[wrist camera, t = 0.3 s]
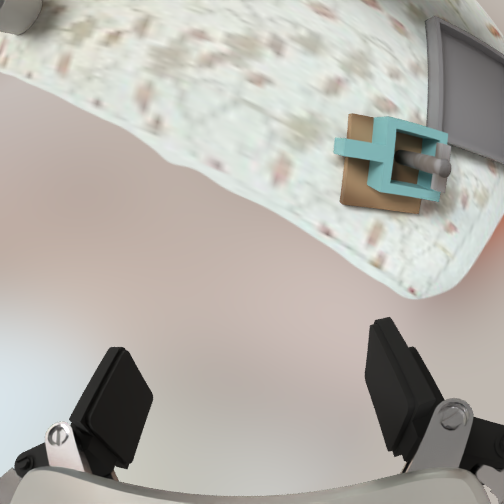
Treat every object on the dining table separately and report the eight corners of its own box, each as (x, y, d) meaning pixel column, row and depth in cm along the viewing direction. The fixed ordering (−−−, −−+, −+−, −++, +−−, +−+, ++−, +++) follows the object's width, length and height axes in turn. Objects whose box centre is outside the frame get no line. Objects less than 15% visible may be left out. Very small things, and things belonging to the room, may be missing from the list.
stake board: (348, 114, 32) (386, 107, 21) (424, 131, 32) (477, 137, 21) (339, 201, 37) (370, 231, 26) (413, 211, 37) (459, 240, 26)
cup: (29, 34, 25) (-7, 26, 16) (7, 36, 24) (-27, 31, 15) (48, -6, 22) (16, -19, 13) (24, -1, 21) (-7, -11, 12)
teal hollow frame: (336, 110, 31) (347, 107, 27) (430, 132, 31) (448, 133, 27) (330, 180, 34) (340, 186, 30) (422, 193, 34) (438, 201, 30)
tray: (425, 21, 25) (434, 15, 22) (507, 65, 25) (517, 64, 22) (425, 137, 32) (436, 138, 30) (505, 165, 32) (516, 169, 30)
